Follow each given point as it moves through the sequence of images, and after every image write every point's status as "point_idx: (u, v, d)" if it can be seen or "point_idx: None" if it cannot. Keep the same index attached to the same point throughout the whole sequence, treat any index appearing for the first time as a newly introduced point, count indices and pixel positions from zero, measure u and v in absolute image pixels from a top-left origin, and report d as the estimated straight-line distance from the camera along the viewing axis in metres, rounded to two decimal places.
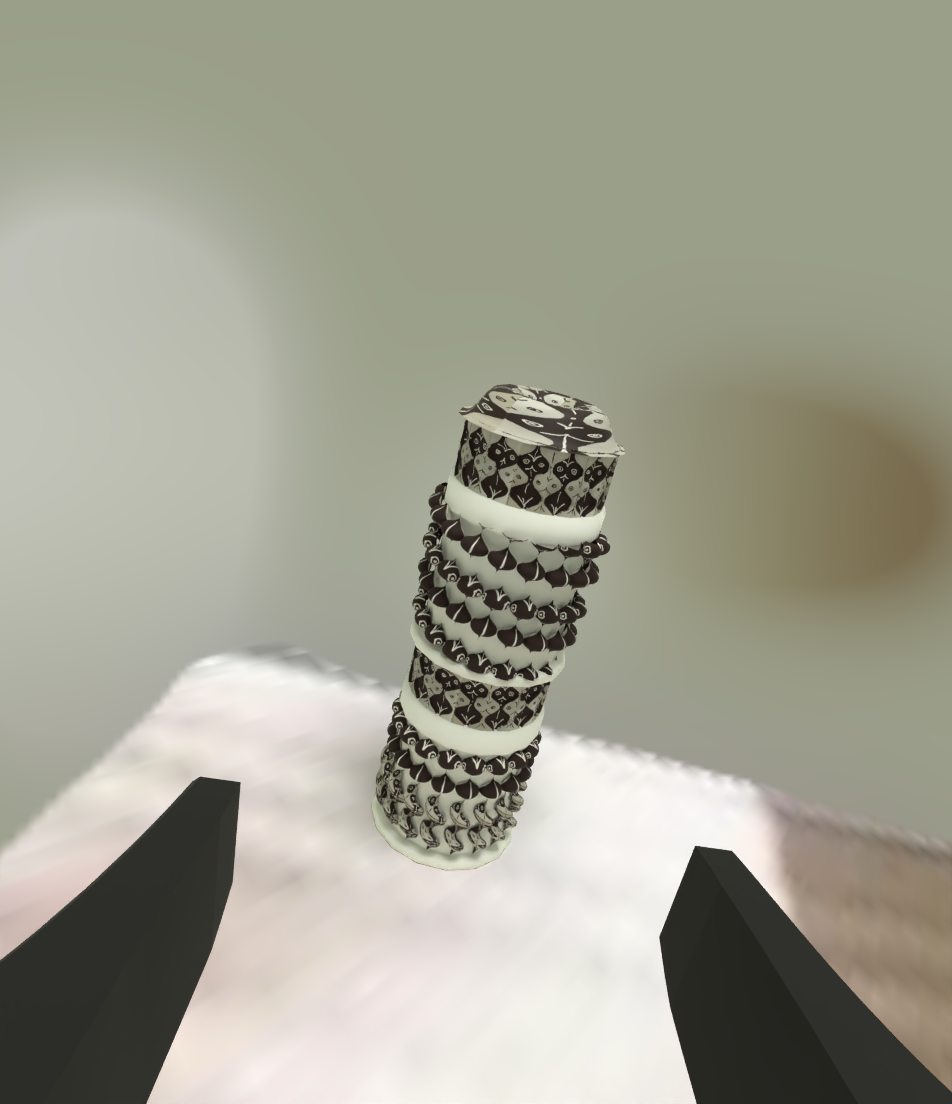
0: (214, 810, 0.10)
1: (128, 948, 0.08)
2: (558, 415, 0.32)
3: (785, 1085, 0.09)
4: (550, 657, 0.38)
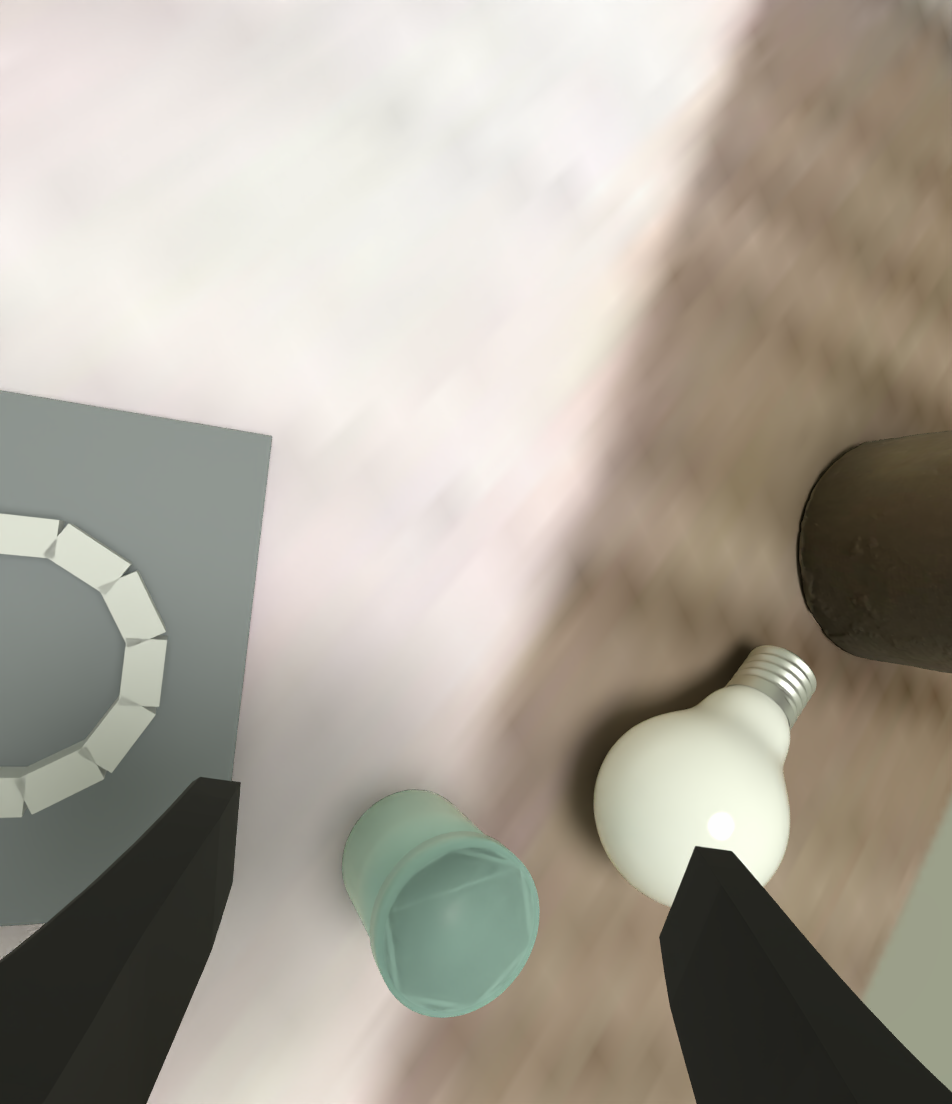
0: (214, 810, 0.10)
1: (128, 948, 0.08)
2: None
3: (785, 1085, 0.09)
4: None
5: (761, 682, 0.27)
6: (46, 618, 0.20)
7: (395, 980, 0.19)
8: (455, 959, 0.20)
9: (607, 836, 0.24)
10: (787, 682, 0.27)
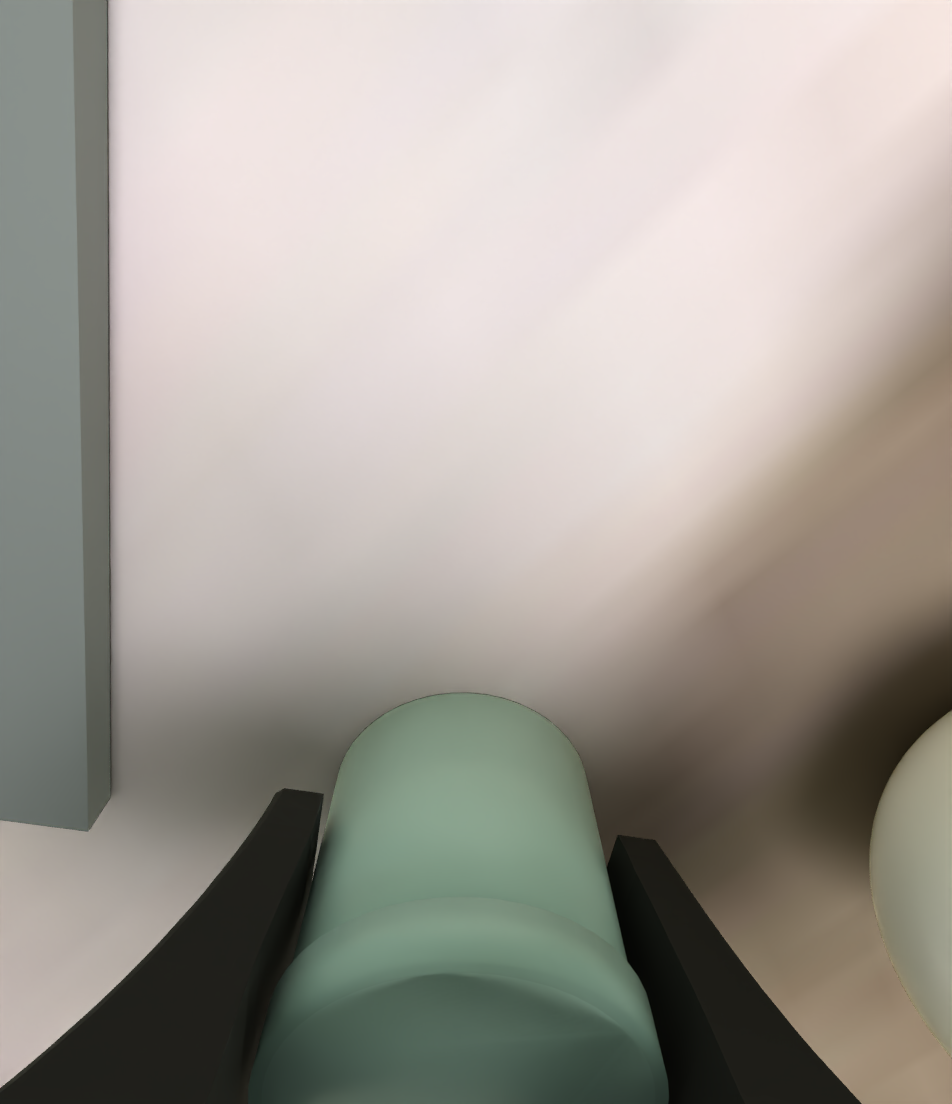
0: (305, 822, 0.10)
1: (248, 962, 0.08)
2: None
3: (682, 1073, 0.08)
4: None
5: None
6: None
7: None
8: None
9: (894, 920, 0.10)
10: None
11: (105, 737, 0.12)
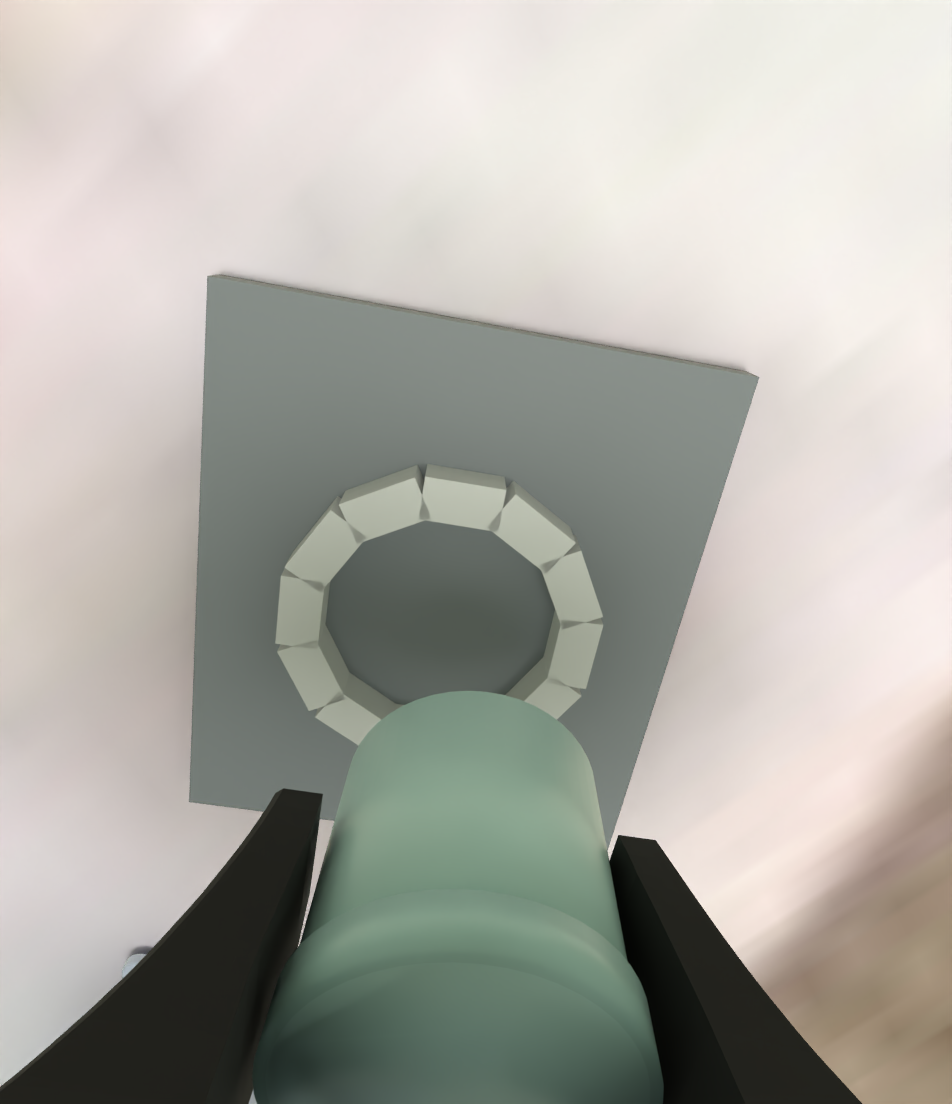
0: (304, 822, 0.10)
1: (247, 962, 0.08)
2: None
3: (682, 1074, 0.08)
4: None
5: None
6: (478, 578, 0.18)
7: None
8: None
9: None
10: None
11: None
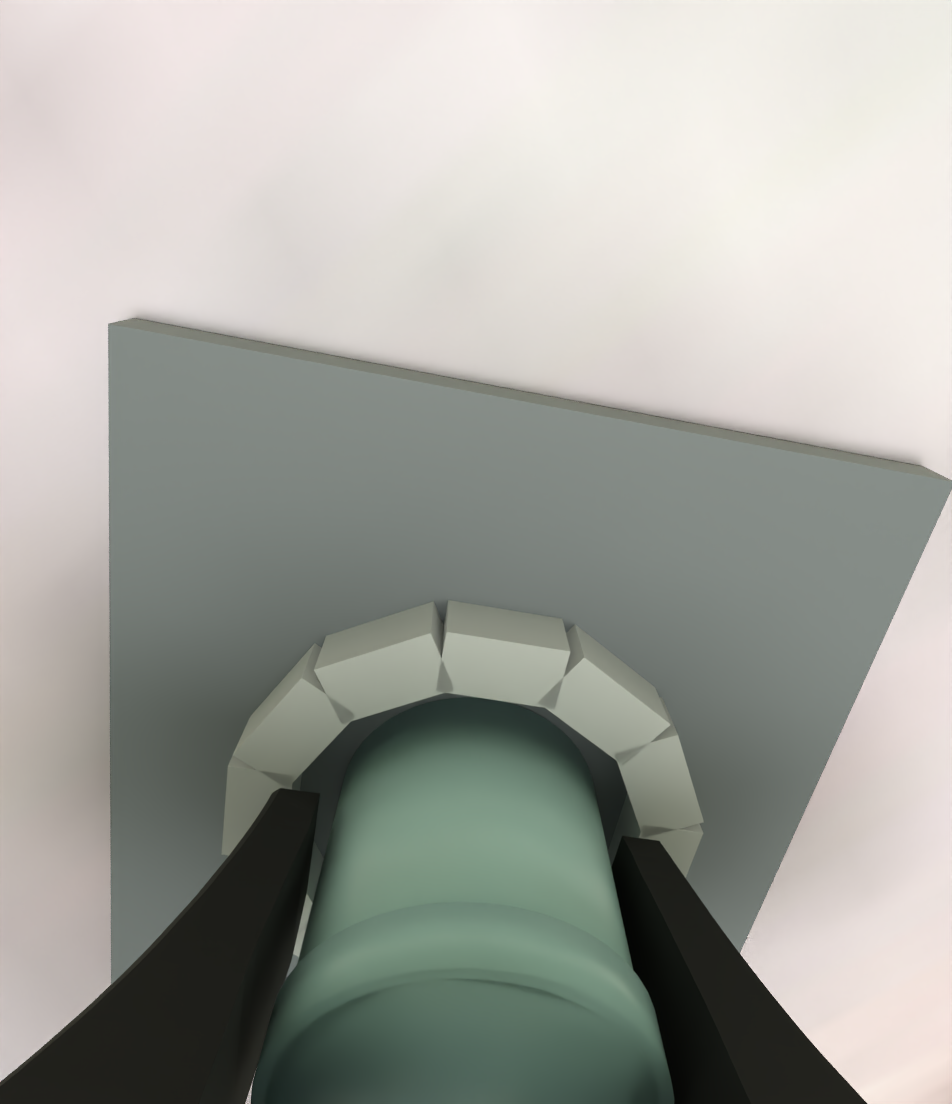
0: (301, 822, 0.10)
1: (243, 962, 0.08)
2: None
3: (687, 1074, 0.08)
4: None
5: None
6: None
7: None
8: None
9: None
10: None
11: None
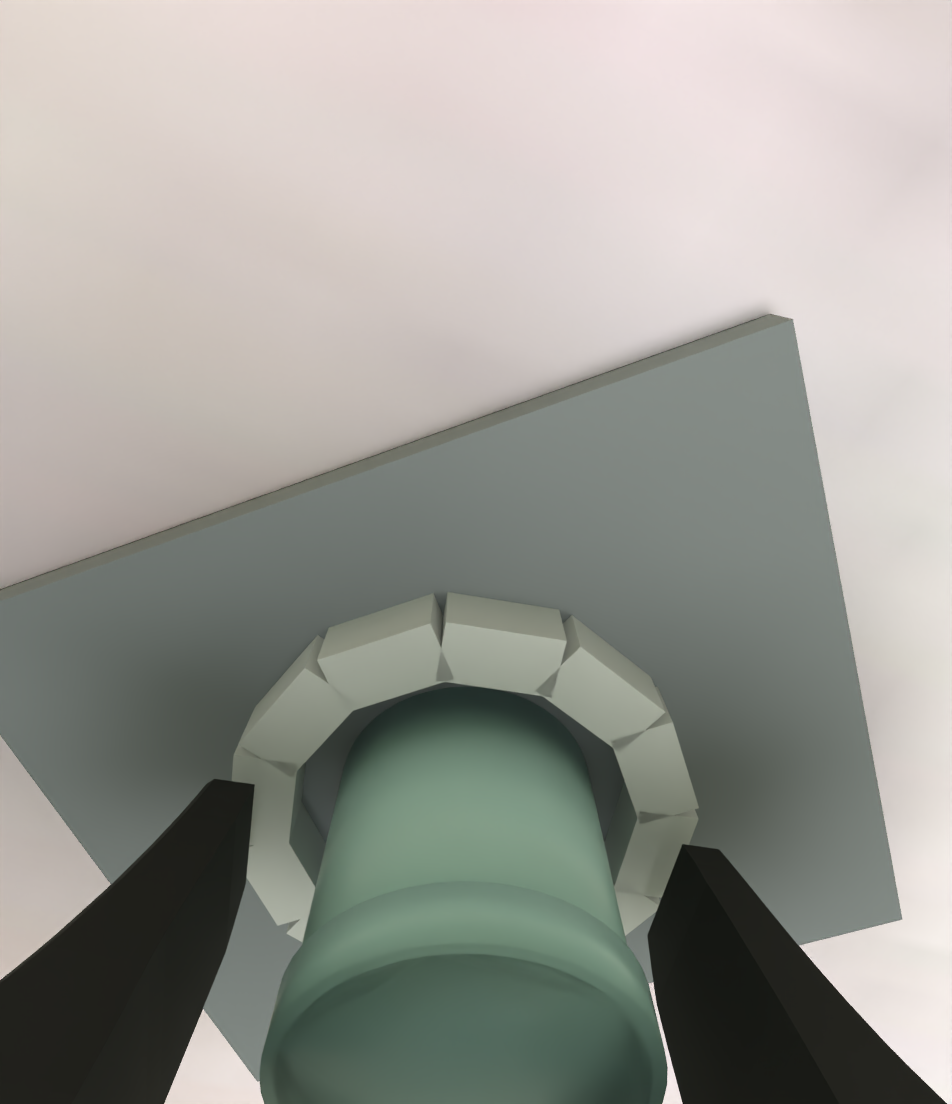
0: (230, 812, 0.10)
1: (149, 951, 0.08)
2: None
3: (768, 1083, 0.08)
4: None
5: None
6: None
7: None
8: None
9: None
10: None
11: None
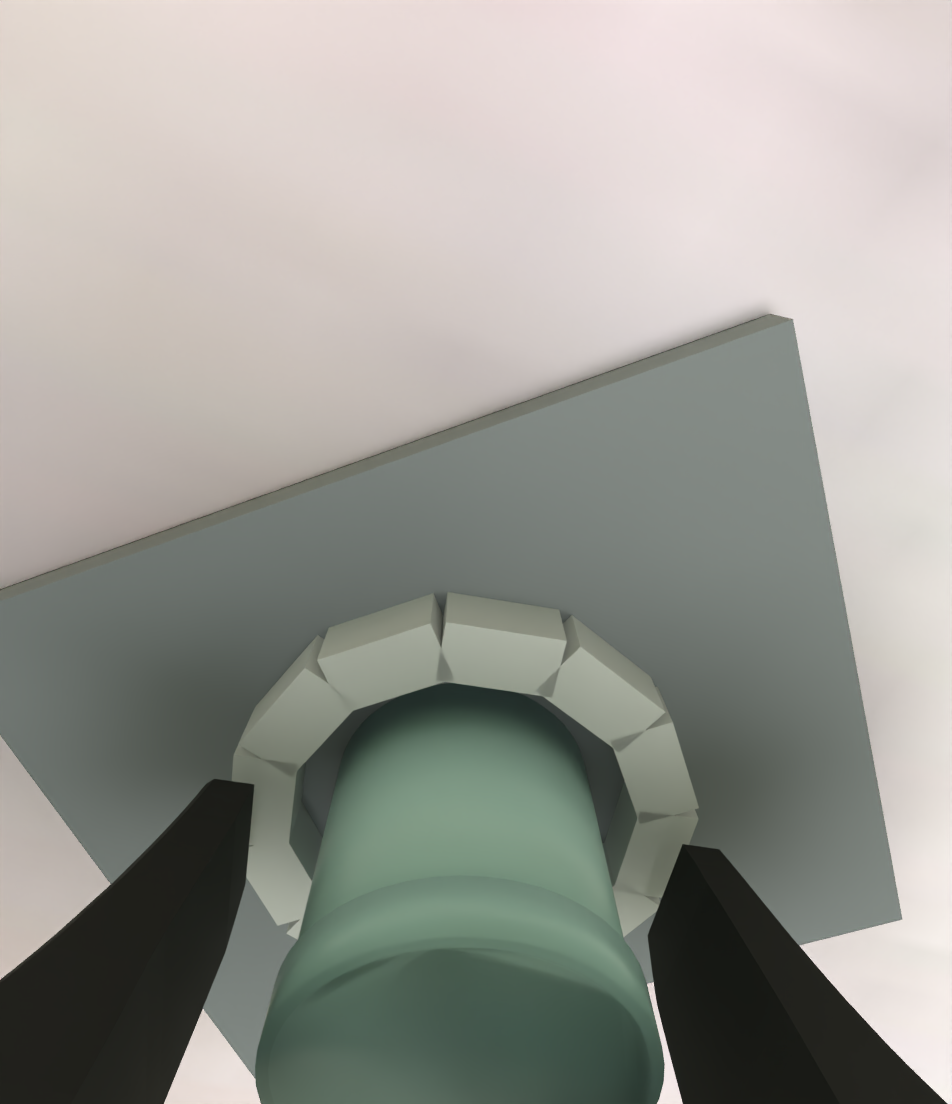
0: (229, 812, 0.10)
1: (148, 951, 0.08)
2: None
3: (768, 1083, 0.08)
4: None
5: None
6: None
7: None
8: None
9: None
10: None
11: None
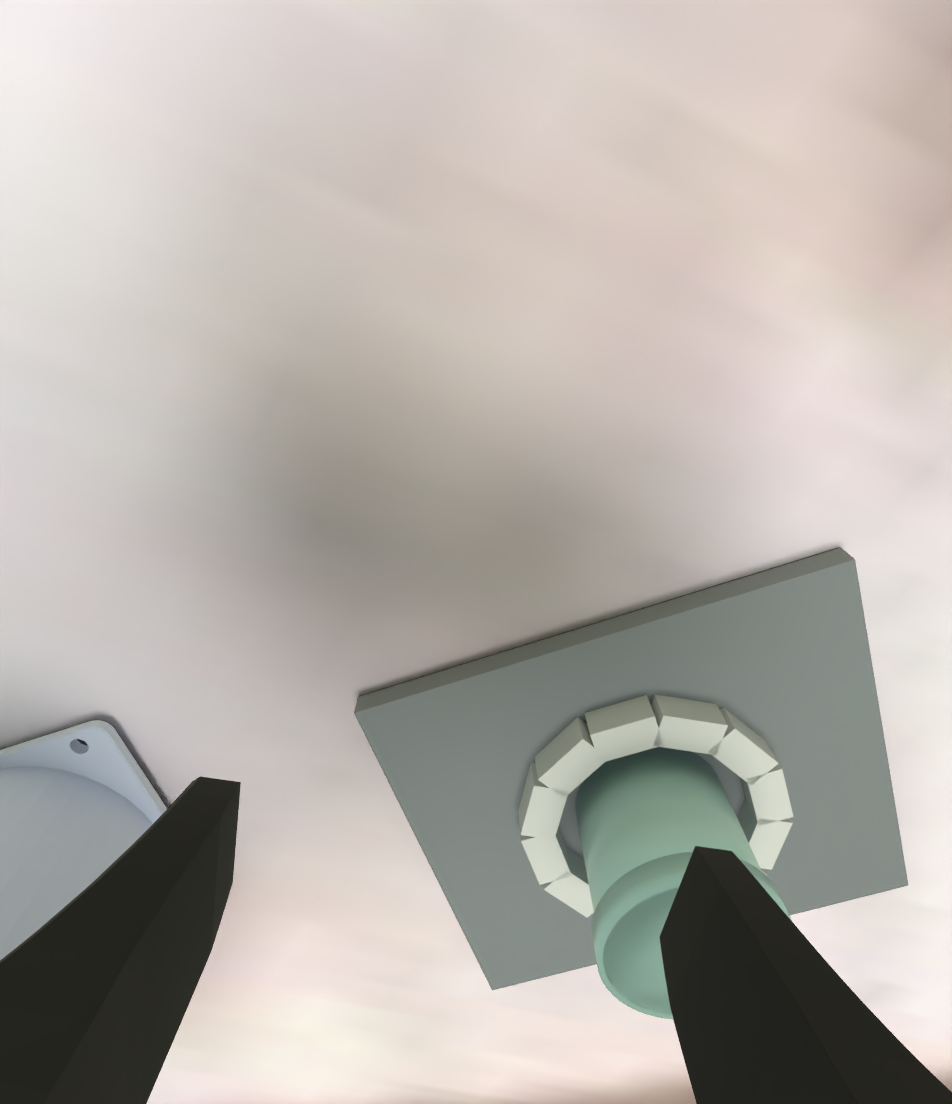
0: (214, 810, 0.10)
1: (128, 948, 0.08)
2: None
3: (785, 1085, 0.08)
4: None
5: None
6: None
7: None
8: None
9: None
10: None
11: None
